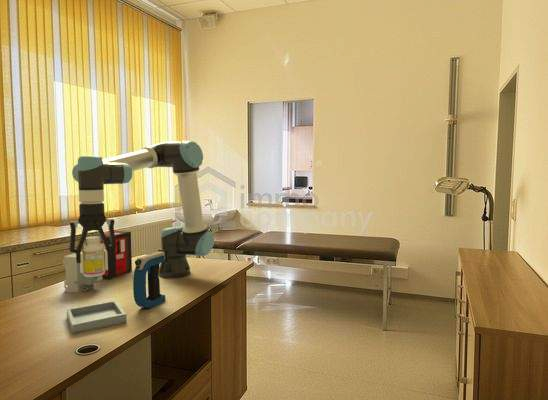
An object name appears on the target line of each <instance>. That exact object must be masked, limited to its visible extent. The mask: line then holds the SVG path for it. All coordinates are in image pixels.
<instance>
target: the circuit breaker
mask: <svg viewBox="0 0 548 400" xmlns="http://www.w3.org/2000/svg"><path fill="white" fill-rule="evenodd" d="M62 263H63V265H62V267H65V280H64V281H63V283H64V286H63V288H64V293H65V292H68V293H78V294H80V293H81V294H82V293H85V292H87V291H88V290H90V289H93V288H94V287H95V285H94V284H96V283H97V282H100V281H102V280H103V279H102V275H101V276H98V277H85V276H84V275H83V273H81V272H80V263H77V262H76V253H71V254H67V255H63V261H62Z"/></svg>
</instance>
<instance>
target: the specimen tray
mask: <svg viewBox="0 0 548 400" xmlns="http://www.w3.org/2000/svg"><path fill="white" fill-rule="evenodd" d="M66 319H67V323H68V324H69V327H70V331H71V333H72V335H76V334H81V333H85V332H90V331H95V330H99V329H103V328H109V327H113V326H118V325H121V324H126V323H127V322H128V321H127V313H126V311H124V309H123V307H122V306H121V305H120V304H119V302H118V301H117V300H116V299H115V300H110V301H105V302H98V303H94V304H93V303H92V304H87V305H83V306H77V307H72V308H66Z"/></svg>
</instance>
